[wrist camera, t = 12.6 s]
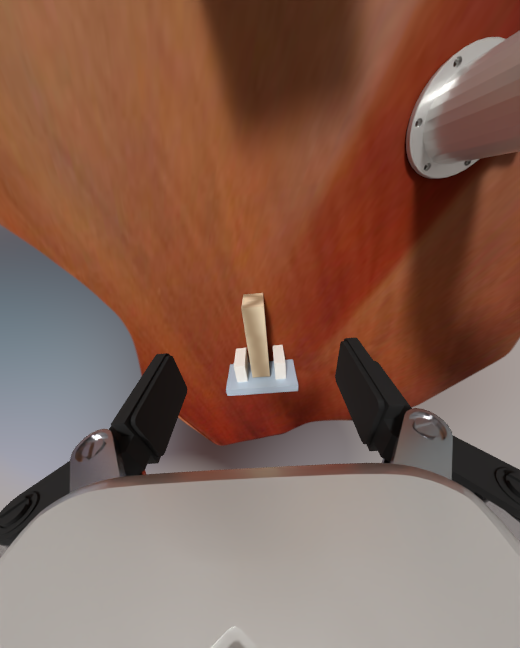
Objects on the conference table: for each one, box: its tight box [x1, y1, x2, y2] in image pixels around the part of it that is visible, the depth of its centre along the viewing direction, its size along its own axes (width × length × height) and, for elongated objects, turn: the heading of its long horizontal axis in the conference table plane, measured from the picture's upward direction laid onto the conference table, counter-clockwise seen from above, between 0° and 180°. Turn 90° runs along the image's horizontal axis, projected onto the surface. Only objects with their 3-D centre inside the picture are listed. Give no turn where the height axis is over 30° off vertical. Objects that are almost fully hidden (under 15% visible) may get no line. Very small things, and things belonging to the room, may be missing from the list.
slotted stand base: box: [226, 345, 298, 396], centre depth 45 cm, size 7×16×8 cm, turn 96°
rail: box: [241, 293, 270, 378], centre depth 42 cm, size 4×18×6 cm, turn 5°
